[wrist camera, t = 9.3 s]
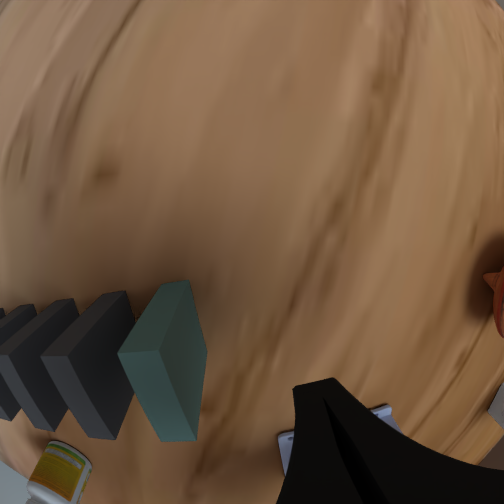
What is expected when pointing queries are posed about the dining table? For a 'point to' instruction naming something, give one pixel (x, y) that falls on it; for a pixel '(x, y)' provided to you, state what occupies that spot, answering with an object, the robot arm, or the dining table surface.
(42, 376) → the domino
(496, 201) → the dining table surface
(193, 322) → the loose domino
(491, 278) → the pot
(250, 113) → the dining table surface
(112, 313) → the domino
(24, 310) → the domino
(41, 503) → the supplement bottle
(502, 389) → the ink cartridge box
